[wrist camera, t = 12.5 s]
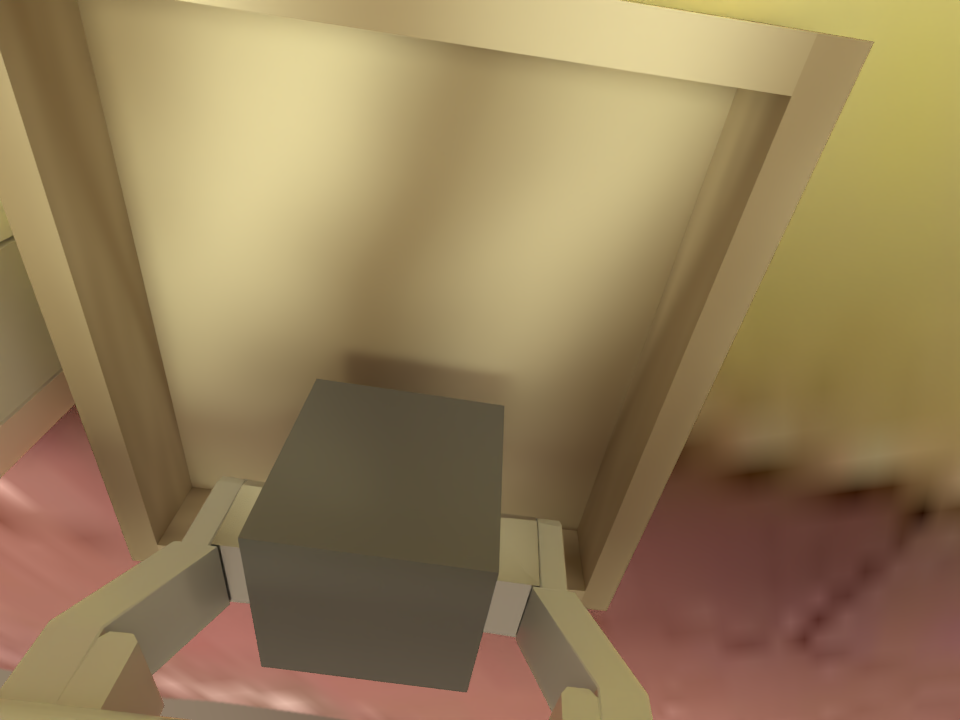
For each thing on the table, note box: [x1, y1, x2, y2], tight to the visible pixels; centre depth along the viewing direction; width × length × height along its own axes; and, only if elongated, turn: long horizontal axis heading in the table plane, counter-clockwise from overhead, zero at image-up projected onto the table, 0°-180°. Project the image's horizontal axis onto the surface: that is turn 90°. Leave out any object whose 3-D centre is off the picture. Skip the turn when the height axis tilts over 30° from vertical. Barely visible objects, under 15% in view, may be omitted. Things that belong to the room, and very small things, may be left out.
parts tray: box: [0, 0, 874, 611], centre depth 12 cm, size 13×14×3 cm
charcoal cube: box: [238, 379, 504, 692], centre depth 11 cm, size 4×4×4 cm
